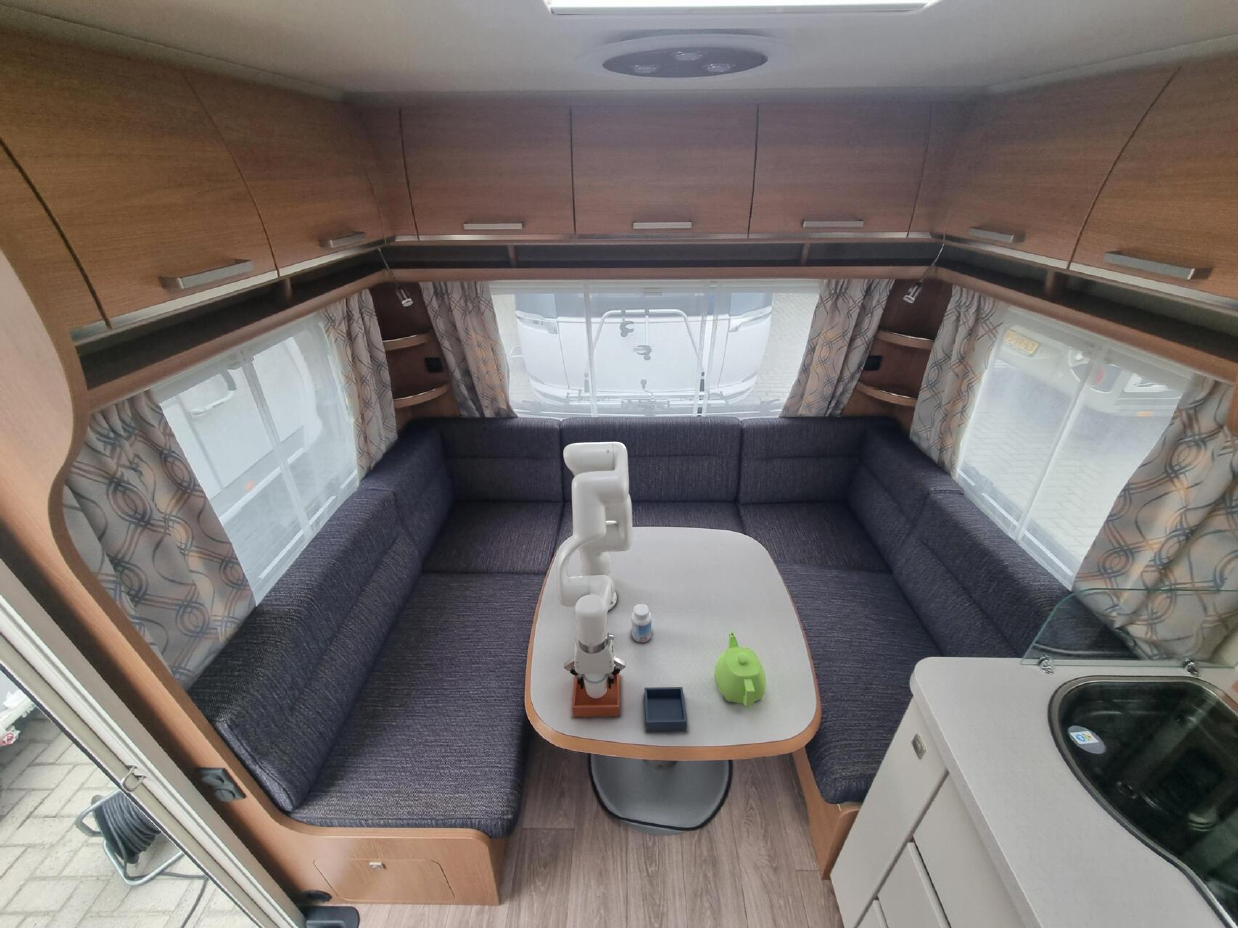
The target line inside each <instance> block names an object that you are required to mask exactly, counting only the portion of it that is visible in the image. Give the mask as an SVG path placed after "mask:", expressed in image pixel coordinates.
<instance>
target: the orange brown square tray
mask: <svg viewBox="0 0 1238 928" xmlns="http://www.w3.org/2000/svg"><path fill="white" fill-rule="evenodd" d="M620 708H621V707H620V673H618V674H617V675H615V676H614V684H611V689H609V688H608V681H607V691H606V693H605V694H604V695H603V696H602V697H600V698H592V697H590V696H589V695H588V694H587V692H586V688H585V684H584V688H583V689H581V687H580V684H578V679H576V676H574V683H573V695H572V706H571V710H572V717H573V718H581V717H582V718H583V717H584V718H586V717H587V718H588V717H590V718H591V717H620V716H621V715H620Z"/></svg>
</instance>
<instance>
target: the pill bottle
mask: <svg viewBox="0 0 1238 928" xmlns="http://www.w3.org/2000/svg"><path fill="white" fill-rule="evenodd" d="M632 611H633V612H632V614H631V637H632V638H633V640H634V641H636V642H638V643H645V642H648V641H649V640H650V639H651V637H652V614H651V612H650V607H649V606H648V605H646V604H645V603H638V604H636V605H634V607H633V610H632Z"/></svg>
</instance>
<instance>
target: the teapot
mask: <svg viewBox="0 0 1238 928" xmlns="http://www.w3.org/2000/svg"><path fill="white" fill-rule="evenodd" d="M738 643H739V642H738V641H737V638H736V633H735V631H734V632H732V631H731V632H730V631H729V634H728V649H726V650H724V651H723V652H722V653H721V654H720V655H719V657H718V658H717V660H716V663H715V666H714V681H715V685H716V686H717V689H718V690H719V692H720V694H721V695H722V696H723V697H724V698H725V700H726V701H727V702H728V703H729V702H730V703H736V704H743V705H744V706H745V707H746V708H754V707H755V702H757V701H760V700H761V699H762V698H763V697H764V695H765V694H766V688H767V679H766V673H765V669H764V665H763V664H762V662H761V661H760V658H759V657H758V655H757V654H756V652H755V651H754V650H753V649H751V648H749V647H747V646H746V647H745V646H740V645H739V644H738Z"/></svg>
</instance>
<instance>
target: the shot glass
mask: <svg viewBox="0 0 1238 928" xmlns="http://www.w3.org/2000/svg"><path fill="white" fill-rule="evenodd" d="M582 676H583V680H584V684H585V688H586V692H587V694H588V695H589V696H590V697H592V698H600V697H602V696H603V695H604V694H605V693H606V691H607V681H608V675H607V674H583V675H582Z"/></svg>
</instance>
